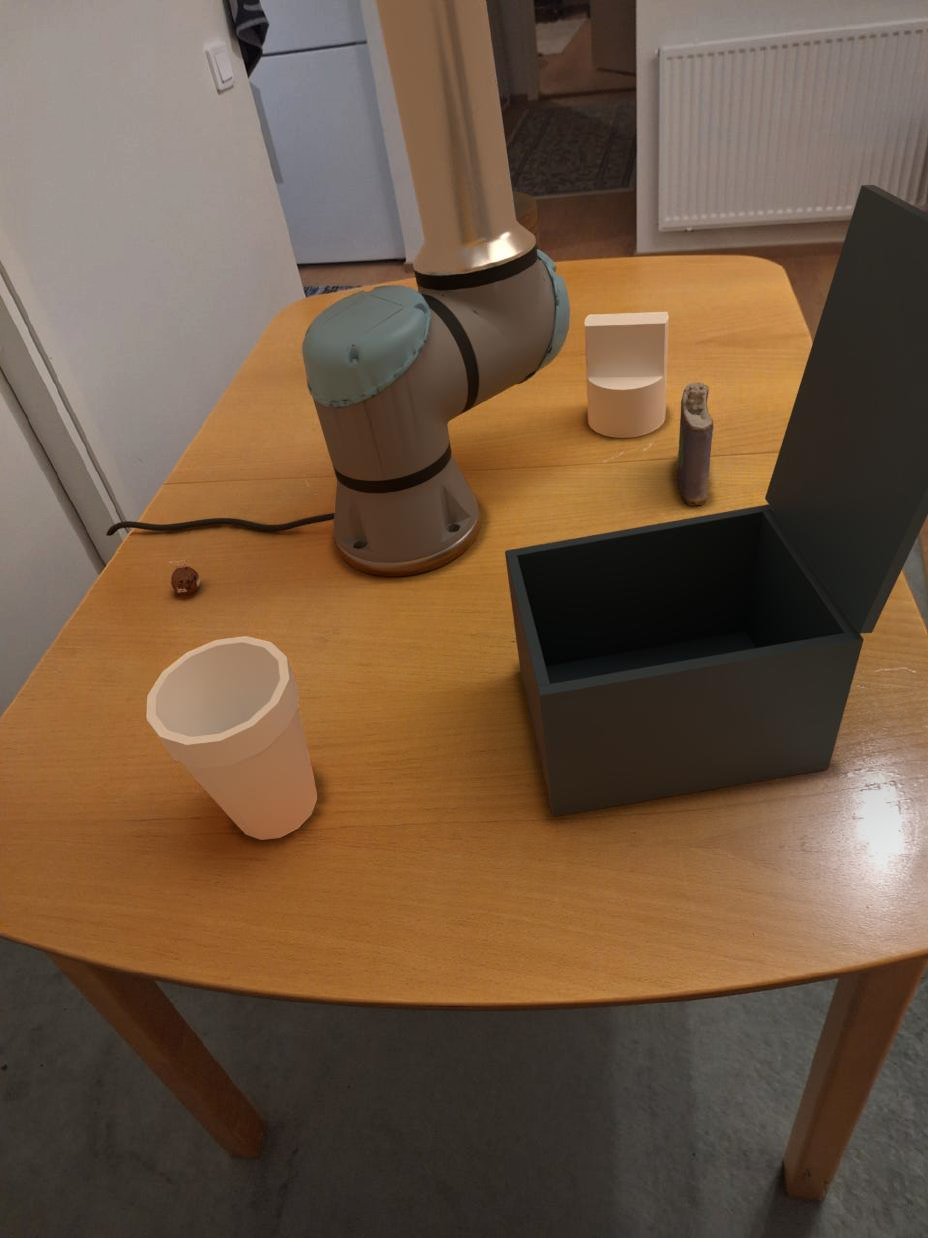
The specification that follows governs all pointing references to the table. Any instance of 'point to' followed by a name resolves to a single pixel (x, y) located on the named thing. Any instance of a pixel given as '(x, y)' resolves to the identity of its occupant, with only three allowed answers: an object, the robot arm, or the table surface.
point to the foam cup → (238, 732)
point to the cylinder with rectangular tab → (626, 372)
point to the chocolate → (184, 579)
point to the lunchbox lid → (863, 413)
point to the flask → (694, 444)
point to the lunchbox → (678, 658)
